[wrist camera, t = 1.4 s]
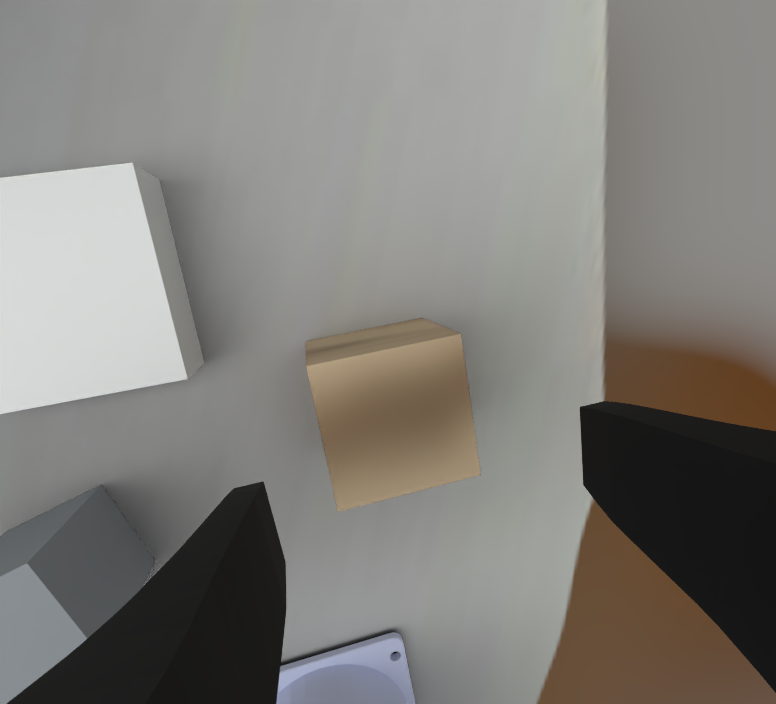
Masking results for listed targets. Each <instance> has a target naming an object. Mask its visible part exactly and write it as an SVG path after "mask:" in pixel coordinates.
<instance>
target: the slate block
mask: <svg viewBox="0 0 776 704" xmlns="http://www.w3.org/2000/svg"><path fill="white" fill-rule="evenodd" d="M154 562H155V560H154V558H153V557H152V555H151V554H150V553H149V551H148V550H147V548H146V547H145V545H144V544H143V543H142V541H141V540H140V538H139V537H138V536H137V534H136V533H135V531H134V530H133V528H132V527H131V526H130V524H129V523H128V521H127V520H126V519H125V517H124V516H123V514H122V513H121V511H120V510H119V509H118V507H117V506H116V504H115V503H114V502H113V500H112V499H111V497H110V496H109V494H108V493H107V492H106V490H105V489H104V487H103V486H102V485H99V486H97V487H95V488H93V489H91V490H89V491H87V492H85V493H83V494H81V495H79V496H77V497H75V498H73V499H71V500H69V501H67V502H65V503H63V504H61V505H59V506H57V507H55V508H53V509H51V510H49V511H47V512H45V513H43V514H41V515H39V516H37V517H35V518H33V519H31V520H29V521H27V522H25V523H23V524H21V525H19V526H17V527H15V528H13V529H11V530H9V531H7V532H5V533H4V534H3V535H2V536H0V704H7V703H8V702H9V701H10V700H12V699H13V698H14V697H16V696H17V695H18V694H19V693H21V692H22V691H23V690H24V689H26V688H27V687H28V686H29V685H31V684H32V683H33V682H35V681H36V680H37V679H38V678H40V677H41V676H42V675H43V674H45V673H46V672H47V671H48V670H50V669H51V668H52V667H54V666H55V665H56V664H57V663H59V662H60V661H61V660H62V659H64V658H65V657H66V656H67V655H69V654H70V653H71V652H72V651H73V650H75V649H76V648H77V647H78V646H79V645H80V644H82V643H83V642H84V641H85V640H86V639H87V638H88V637H90V636H91V635H92V634H93V633H94V632H95V631H96V630H98V629H99V628H100V627H101V626H102V625H103V624H104V623H105V622H107V621H108V620H109V619H110V618H111V617H112V616H113V615H114V614H115V613H117V612H118V611H119V610H120V609H121V608H122V607H123V606H124V605H125V604H126V603H127V602H128V601H129V600H130V599H131V598H132V597H133V596H135V595H136V594H137V593H138V592H139V591H140V590H141V588H142V586H143V584H144V582H145V580H146V578H147V576H148V574H149V572H150V570H151V568H152V566H153V564H154Z"/></svg>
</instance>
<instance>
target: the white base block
mask: <svg viewBox="0 0 776 704" xmlns="http://www.w3.org/2000/svg"><path fill="white" fill-rule="evenodd" d="M203 364H204V360H203V356H202V352H201V348H200V344H199V340H198V336H197V332H196V327H195V323H194V319H193V315H192V311H191V307H190V303H189V299H188V295H187V291H186V287H185V283H184V279H183V275H182V270H181V266H180V262H179V258H178V254H177V250H176V246H175V242H174V238H173V234H172V230H171V226H170V222H169V218H168V213H167V209H166V205H165V201H164V197H163V193H162V189H161V185H160V181H159V179H157V178H156V177H154V176H153V175H151V174H149V173H148V172H146V171H145V170H143V169H142V168H140V167H138V166H137V165H135V164H134V163H126V164H117V165H109V166H100V167H91V168H82V169H73V170H65V171H56V172H47V173H38V174H30V175H21V176H12V177H3V178H0V414H3V413H8V412H14V411H19V410H24V409H30V408H35V407H41V406H46V405H51V404H57V403H62V402H67V401H73V400H78V399H84V398H89V397H94V396H100V395H105V394H110V393H116V392H121V391H126V390H132V389H137V388H143V387H148V386H153V385H159V384H164V383H169V382H175V381H180V380H186V379H188V378H189V377H190V376H191V375H193V374H194V373H195V372H196V371H197V370H198V369H199V368H200V367H201V366H202V365H203Z"/></svg>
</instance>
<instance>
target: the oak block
mask: <svg viewBox="0 0 776 704" xmlns="http://www.w3.org/2000/svg"><path fill="white" fill-rule="evenodd" d="M306 368H307V373H308V377H309V382H310V387H311V391H312V396H313V400H314V405H315V409H316V414H317V418H318V423H319V428H320V432H321V437H322V441H323V446H324V450H325V455H326V460H327V464H328V469H329V473H330V478H331V482H332V487H333V492H334V496H335V501H336V505H337V510H338V512H339V511H343V510H347V509H351V508H355V507H359V506H362V505H366V504H370V503H374V502H378V501H382V500H386V499H390V498H393V497H397V496H401V495H405V494H409V493H413V492H417V491H420V490H424V489H428V488H432V487H436V486H440V485H444V484H447V483H451V482H455V481H459V480H463V479H467V478H471V477H475V476H478V475H481V472H480V465H479V458H478V451H477V444H476V437H475V430H474V423H473V416H472V409H471V401H470V394H469V387H468V380H467V373H466V366H465V359H464V352H463V345H462V338H461V334H460V333H458V332H455V331H453V330H450V329H448V328H445V327H443V326H440V325H438V324H436V323H433V322H431V321H428V320H426V319H423V318H419V319H414V320H409V321H404V322H399V323H394V324H389V325H384V326H379V327H374V328H369V329H364V330H359V331H355V332H350V333H345V334H340V335H335V336H330V337H325V338H320V339H315V340H310V341H306Z"/></svg>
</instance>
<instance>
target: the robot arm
mask: <svg viewBox="0 0 776 704" xmlns="http://www.w3.org/2000/svg"><path fill="white" fill-rule="evenodd" d="M580 421H581V443H582V464H583V485H584V486H585V488H586V489H587V490H588V492H589V493H590V494H591V496H592V497H593V498H594V499H595V501H596V502H597V503H598V505H599V506H600V507H601V508H602V510H603V511H604V512H605V513H606V514H607V516H608V517H609V518H610V519H611V521H612V522H613V523H614V524H615V525H616V526H617V527H618V528H619V529H620V530H621V531H622V532H623V533H624V534H625V535H626V536H627V537H628V538H629V539H630V540H631V541H633V542H634V543H635V544H636V545H637V546H638V547H639V548H640V549H641V550H642V551H643V552H644V553H645V554H646V555H647V556H648V557H649V558H650V559H651V560H652V561H653V562H654V563H655V564H656V565H657V566H658V567H659V568H660V569H661V570H663V572H665V573H666V574H667V575H668V576H669V577H670V578H671V579H672V580H673V581H674V582H675V583H676V584H677V585H678V586H679V587H680V588H681V589H682V590H683V591H684V592H685V593H686V594H687V595H688V596H689V597H691V598H692V599H693V600H694V601H695V602H696V603H697V604H698V605H699V606H700V607H701V608H702V609H703V611H704V612H705V613H706V614H707V615H708V616H709V617H710V618H711V619H712V620H713V621H714V622H715V623H716V624H717V625H718V626H719V627H720V628H721V630H722V631H723V632H724V633H725V634H726V635H727V636H728V638H729V639H730V640H731V641H732V642H733V643H734V645H735V646H736V647H737V648H738V649H739V650H740V651H741V653H742V654H743V655H744V656H745V657H746V658H747V659H748V661H749V662H750V663H751V664H752V665H753V666H754V667H755V669H756V670H757V671H758V672H759V673H760V674H761V675H762V677H763V678H764V679H765V680H766V682H767V683H768V684H769V685H770V686H771V688H772V689H773V690H774V691H775V692H776V431H770V430H764V429H758V428H752V427H746V426H740V425H735V424H729V423H724V422H719V421H713V420H708V419H703V418H698V417H693V416H688V415H683V414H678V413H673V412H668V411H663V410H658V409H653V408H648V407H642V406H637V405H632V404H625V403H618V402H607V401H603V402H599V403H595V404H591V405H586V406H582V407H580ZM285 617H286V565H285V559H284V555H283V551H282V548H281V544H280V540H279V537H278V533H277V529H276V526H275V522H274V518H273V515H272V511H271V507H270V504H269V500H268V496H267V493H266V489H265V485H264V482H259V483H255V484H251V485H246V486H242V487H238V488H234V489H233V490H232V491H231V492H230V493H229V494H228V495H227V496H226V497H225V498H224V499H223V500H222V502H221V503H220V504H219V505H218V506H217V507H216V508H215V510H214V511H213V512H212V513H211V514H210V515H209V516H208V518H207V519H206V520H205V521H204V522H203V523H202V524H201V526H200V527H199V528H198V529H197V530H196V531H195V532H194V533H193V535H192V536H191V537H190V538H189V539H188V540H187V541H186V542H185V544H184V545H183V546H182V547H181V548H180V549H179V550H178V551H177V552H176V553H175V555H174V556H173V557H172V558H171V559H170V560H169V561H168V562H167V563H166V564H165V565H164V566H163V567H162V568H161V569H160V570H159V571H158V572H157V573H156V574H155V575H154V576H153V577H152V578H151V579H150V580H149V581H148V582H147V583H146V584H145V585H144V586H143V587H142V588H141V590H140V591H139V592H138V593H137V594H136V595H135V596H133V597H132V598H131V599H130V600H129V601H128V602H127V603H126V604H125V605H124V606H123V607H122V608H121V609H120V610H119V611H118V612H117V613H115V614H114V615H113V616H112V617H111V618H110V619H109V620H108V621H107V622H105V623H104V624H103V625H102V626H101V627H100V628H99V629H98V630H96V631H95V632H94V633H93V634H92V635H91V636H90V637H88V638H87V639H86V640H85V641H84V642H83V643H82V644H80V645H79V646H78V647H77V648H76V649H75V650H73V651H72V652H71V653H70V654H69V655H67V656H66V657H65V658H64V659H62V660H61V661H60V662H59V663H57V664H56V665H55V666H54V667H52V668H51V669H50V670H48V671H47V672H46V673H45V674H43V675H42V676H41V677H40V678H38V679H37V680H36V681H35V682H33V683H32V684H31V685H29V686H28V687H27V688H26V689H24V690H23V691H22V692H21V693H19V694H18V695H17V696H16V697H14V698H13V699H12V700H10V701H9V702H8V703H7V704H415V699H414V694H413V688H412V683H411V678H410V673H409V668H408V663H407V658H406V653H405V648H404V643H403V639H402V637H401V635H400V634H398V633H395V632H393V633H388V634H385V635H382V636H378V637H375V638H372V639H369V640H365V641H362V642H359V643H355V644H352V645H349V646H346V647H342V648H339V649H336V650H332V651H329V652H326V653H323V654H319V655H316V656H313V657H309V658H306V659H303V660H299V661H296V662H293V663H290V664H286V665H283V666H280V665H281V656H282V646H283V637H284V627H285ZM395 651H398V652H397V653H395V654H391V653H393V652H395Z"/></svg>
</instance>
